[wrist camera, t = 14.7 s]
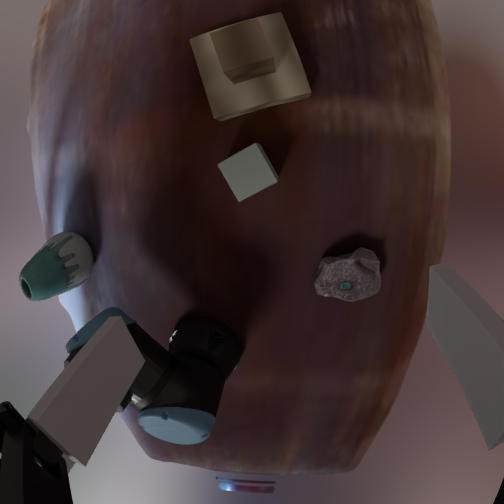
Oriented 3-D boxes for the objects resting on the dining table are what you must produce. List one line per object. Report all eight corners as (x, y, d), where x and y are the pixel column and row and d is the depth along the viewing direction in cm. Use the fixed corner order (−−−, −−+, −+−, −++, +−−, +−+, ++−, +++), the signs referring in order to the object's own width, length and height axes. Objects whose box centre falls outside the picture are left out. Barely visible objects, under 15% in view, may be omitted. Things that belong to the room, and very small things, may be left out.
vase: (60, 261, 54) (9, 297, 37) (65, 217, 49) (5, 247, 33) (96, 284, 54) (47, 329, 38) (104, 240, 50) (45, 280, 33)
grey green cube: (245, 194, 44) (238, 202, 38) (226, 162, 42) (217, 164, 37) (278, 177, 42) (277, 181, 36) (259, 143, 40) (255, 142, 35)
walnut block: (234, 84, 33) (223, 72, 27) (222, 50, 31) (209, 33, 25) (275, 72, 32) (273, 57, 26) (262, 37, 30) (257, 18, 24)
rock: (308, 254, 46) (310, 265, 42) (373, 241, 44) (381, 252, 40) (315, 295, 49) (317, 309, 45) (375, 283, 47) (383, 296, 43)
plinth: (221, 121, 40) (213, 118, 35) (199, 48, 36) (189, 39, 31) (308, 98, 37) (311, 92, 33) (281, 24, 33) (281, 11, 28)
